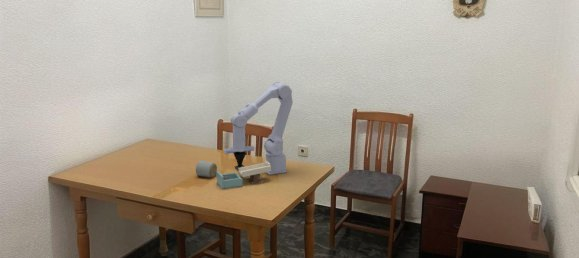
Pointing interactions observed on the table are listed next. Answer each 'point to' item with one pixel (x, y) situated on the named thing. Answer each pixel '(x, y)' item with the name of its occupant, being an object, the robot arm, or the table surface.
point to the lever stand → (255, 179)
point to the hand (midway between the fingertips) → (239, 166)
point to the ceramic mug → (206, 169)
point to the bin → (232, 182)
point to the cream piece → (253, 169)
